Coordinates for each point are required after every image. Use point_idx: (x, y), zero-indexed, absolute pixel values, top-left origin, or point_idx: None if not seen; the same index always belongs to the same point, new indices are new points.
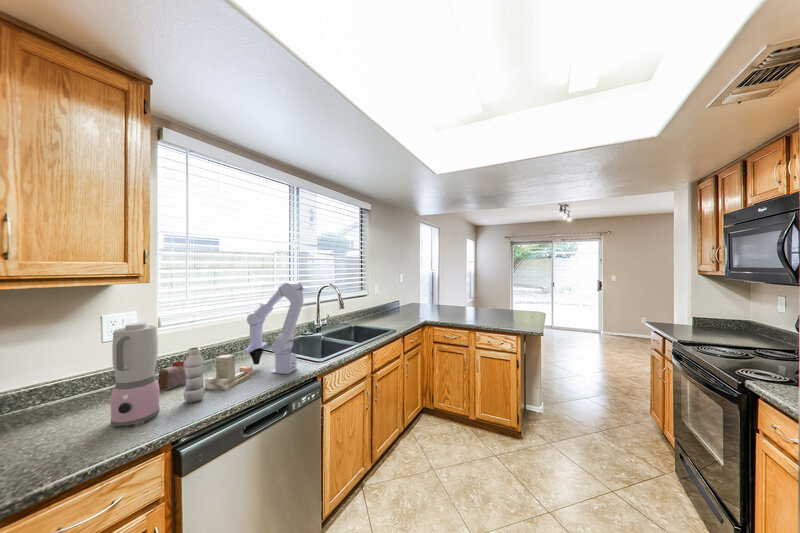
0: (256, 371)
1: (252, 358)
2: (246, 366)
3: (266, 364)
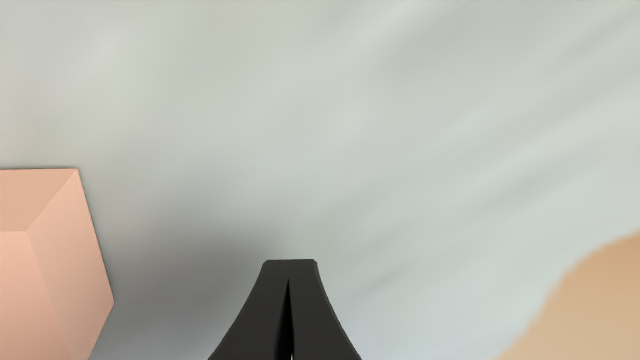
0: (200, 297)
1: (227, 345)
2: (40, 295)
3: (514, 244)
